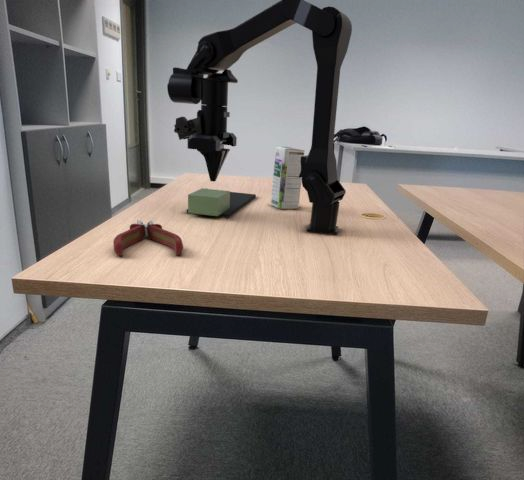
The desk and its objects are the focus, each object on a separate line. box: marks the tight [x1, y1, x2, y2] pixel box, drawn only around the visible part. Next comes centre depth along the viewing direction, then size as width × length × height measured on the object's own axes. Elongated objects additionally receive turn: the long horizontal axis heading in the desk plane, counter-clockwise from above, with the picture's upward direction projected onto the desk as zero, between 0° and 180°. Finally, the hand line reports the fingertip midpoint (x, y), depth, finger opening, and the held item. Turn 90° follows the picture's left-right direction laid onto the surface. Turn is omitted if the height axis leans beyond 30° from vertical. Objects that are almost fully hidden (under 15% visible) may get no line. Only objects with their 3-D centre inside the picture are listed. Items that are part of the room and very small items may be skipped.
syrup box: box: [270, 146, 305, 210], centre depth 121 cm, size 6×6×14 cm
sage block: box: [187, 187, 231, 217], centre depth 109 cm, size 4×7×10 cm
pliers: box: [112, 219, 184, 257], centre depth 86 cm, size 12×20×3 cm, turn 15°
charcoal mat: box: [186, 191, 257, 219], centre depth 122 cm, size 30×10×1 cm, turn 168°
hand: (212, 181), depth 110 cm, fingers closed
